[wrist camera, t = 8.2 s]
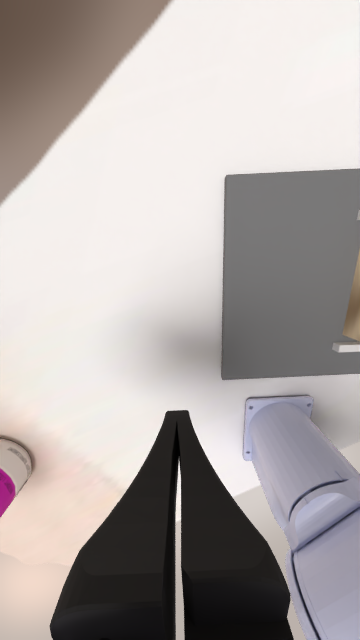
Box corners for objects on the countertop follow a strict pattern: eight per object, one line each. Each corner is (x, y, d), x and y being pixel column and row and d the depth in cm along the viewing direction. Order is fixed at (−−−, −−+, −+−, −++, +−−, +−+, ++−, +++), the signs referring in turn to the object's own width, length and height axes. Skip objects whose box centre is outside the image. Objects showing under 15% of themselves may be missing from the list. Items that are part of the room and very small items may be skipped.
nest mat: (424, 367, 21) (441, 374, 20) (221, 376, 21) (224, 384, 20) (495, 165, 16) (524, 155, 14) (224, 178, 16) (229, 169, 14)
